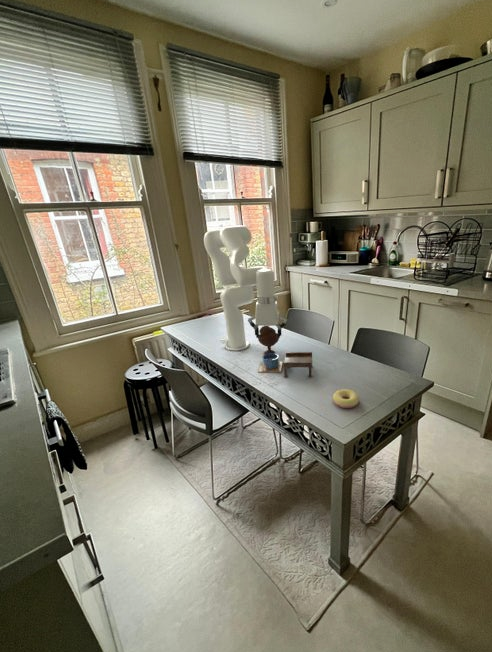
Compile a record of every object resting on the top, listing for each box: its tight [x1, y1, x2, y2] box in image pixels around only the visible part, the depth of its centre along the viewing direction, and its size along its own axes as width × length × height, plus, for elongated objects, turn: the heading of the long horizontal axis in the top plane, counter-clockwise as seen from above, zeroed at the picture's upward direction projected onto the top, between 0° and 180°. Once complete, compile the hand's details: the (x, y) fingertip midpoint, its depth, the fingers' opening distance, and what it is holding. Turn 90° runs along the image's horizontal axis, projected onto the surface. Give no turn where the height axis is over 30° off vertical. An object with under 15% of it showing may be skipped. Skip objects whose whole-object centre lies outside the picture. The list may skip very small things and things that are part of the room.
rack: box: [282, 351, 313, 379], centre depth 140 cm, size 12×11×7 cm
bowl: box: [261, 353, 280, 370], centre depth 145 cm, size 7×7×5 cm
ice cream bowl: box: [257, 326, 280, 355], centre depth 158 cm, size 11×11×15 cm
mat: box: [258, 361, 284, 374], centre depth 147 cm, size 10×10×1 cm
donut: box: [332, 388, 360, 409], centre depth 117 cm, size 10×5×9 cm
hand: (268, 336), depth 141 cm, fingers open, 9 cm apart
